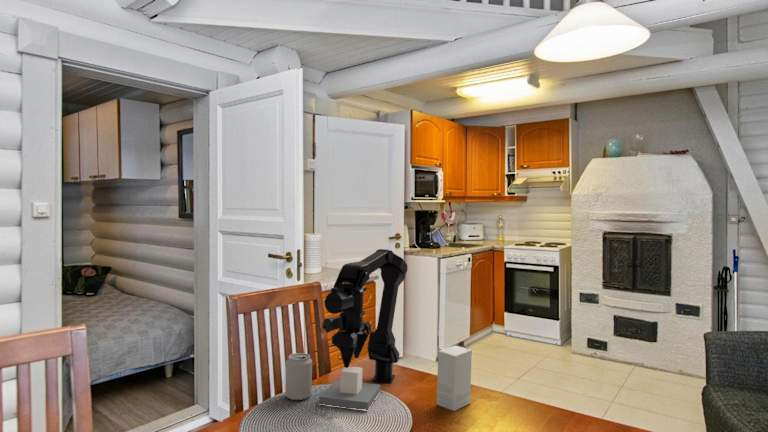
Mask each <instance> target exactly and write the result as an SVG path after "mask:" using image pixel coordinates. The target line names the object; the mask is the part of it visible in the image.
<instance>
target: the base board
mask: <svg viewBox="0 0 768 432" xmlns="http://www.w3.org/2000/svg"><path fill="white" fill-rule="evenodd" d="M340 381H341V379H335V380H334V381H333V382H332V384H331V385H329V386H328V387H327V388H326V389H325V390H324V391H323V392H322V393H321V394H320V395H319V396H318V405H319V404H325V405H332V406H339V407H346V408H356V409H366V410H368V409H369V407H370V406H371V404H372V402H373V401H374V399H375V398H376V396H377V395H378V393H379V392H380V393H381V387H382V386H381V384H376V383H369V382H368V383H367V382H362V389H361V390H360V392H359V393H358V394H349V393H340ZM371 407H372V406H371ZM369 410H370V409H369Z"/></svg>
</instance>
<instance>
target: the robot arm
mask: <svg viewBox="0 0 768 432" xmlns="http://www.w3.org/2000/svg"><path fill="white" fill-rule="evenodd" d="M378 269H379V270H380V277H381V280H382V283H383V289H382V295H381V302H380V306H379V314H378V318H377V324H376V325H377V327H376V329H375V330H374V331H373V332H372V325H371V323H370V322H369V321H364V320H363V319H364V316H365V314H366V312H365V310H364V292H366V291H368V289H367V287H366V286H365V284H366V283H367V282H368V281H369V280H370V277H371V276H370V275H371V274H372V273H373V272H375V271H377V270H378ZM406 273H408V264H407V263H406V261H405V260H404V258H402V257H401V256H399V255H397V254H396V253H394V252H393V251H392V250H391V249H384V248H379V249H376V250H375V252H374V253H372V254H369V255H368V256H367V257H365V258H363V259H362V260H360V261H354V262H349V263H345V264H343V265H342V267H341V269H340V270H339V273H338V276H337V278H336V281H335V283H334V285H333V287H331V290H330V293H328V294H327V295H326V297H325V299H324V307H325V309H326V310H327V312H328V313H330V314H332V315H334V314H335V315H336V314H339V315H338V316H336V317H333V318H332V317H331V316H329V317H327V318H324V319H323V322H321V323H322V326H321V329H323V330H324V331H325V333H326V334H327V333H331V332H332V331H336V330H338V331H337V332H336V333H334V334H333V335H332V336H331V344H332V345H333V346H334V347H336V348H337V349H338V350H339V351H340V354H341V355H340V356H341V358H342V363H343V366H344V367H343V368H345V367H346V368H348V367H349V366H350V365H351V362H352V360H353V357H354V359H358V358H359V356H360V355H361V352H362V350H363V347H364V346H365V343H366V341H367V339H368V343H367V353H368V358H369V360H371V361H374V375H373V377H372V378H371V381H372V382H379V383H388V384H392V383H393V380H394V379H395V377H396V375H395V374H393V368H394V367H393V364H396V363H397V364H398V362H399V359H400V352H399V351H398V349H397V348H398V347H396V338H395V336H394V333H393V324H394V320H395V319H394V318H395V311H396V306H397V305H396V304H397V299H398V292H399V287H400V285H401V284H402V283H403V282H404V280H405V278H406Z"/></svg>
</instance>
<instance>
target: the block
mask: <svg viewBox="0 0 768 432" xmlns="http://www.w3.org/2000/svg"><path fill="white" fill-rule="evenodd" d="M363 372H364V371H363V367H359V366H350V365H349V367H348V368H346V367H343V369H342V370H340V380H341V381H340V393H349V394H358V393H359V392H360V390H361V389H362V383H363Z"/></svg>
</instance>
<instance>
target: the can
mask: <svg viewBox="0 0 768 432" xmlns="http://www.w3.org/2000/svg"><path fill="white" fill-rule="evenodd" d="M310 357H311V355H310V354H308V353H305V352H296V353H290V354H289V355H288V358H287V359H286V361H285V379H284V380H285V385H284V386H285V387H284V391H285V392H284V396H285V397H286V398H287V399H288V398H289V399H291V400H290V401H293V400H302V399H305V400H307V399H309V397H310V396H311V395H312V390H313V389H312V386H313V385H312V384H313V383H312V382H313V379H312V378H313V359H311V358H310ZM306 398H307V399H306ZM289 399H288V400H289ZM302 401H303V400H302Z"/></svg>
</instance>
